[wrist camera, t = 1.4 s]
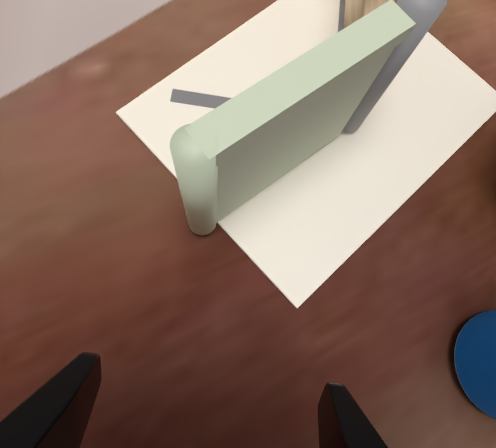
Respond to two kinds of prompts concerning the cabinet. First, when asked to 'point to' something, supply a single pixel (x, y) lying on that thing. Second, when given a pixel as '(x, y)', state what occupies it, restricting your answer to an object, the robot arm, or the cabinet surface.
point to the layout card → (330, 156)
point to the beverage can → (478, 361)
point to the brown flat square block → (360, 9)
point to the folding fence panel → (293, 111)
